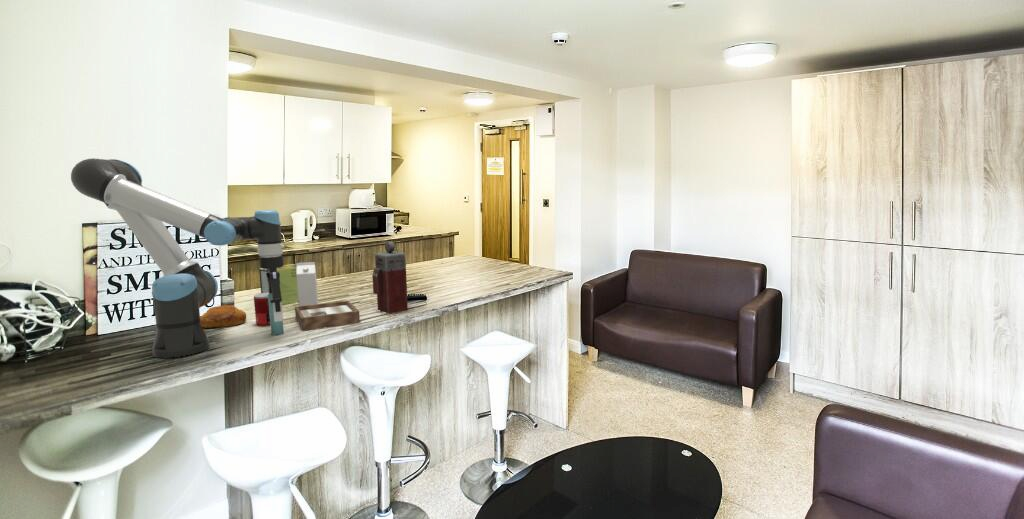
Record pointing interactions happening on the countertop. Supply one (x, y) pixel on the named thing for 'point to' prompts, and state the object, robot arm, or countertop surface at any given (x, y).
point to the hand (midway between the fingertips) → (277, 316)
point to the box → (326, 315)
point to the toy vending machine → (390, 280)
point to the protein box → (283, 283)
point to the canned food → (262, 309)
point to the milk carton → (307, 284)
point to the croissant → (222, 316)
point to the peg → (275, 326)
